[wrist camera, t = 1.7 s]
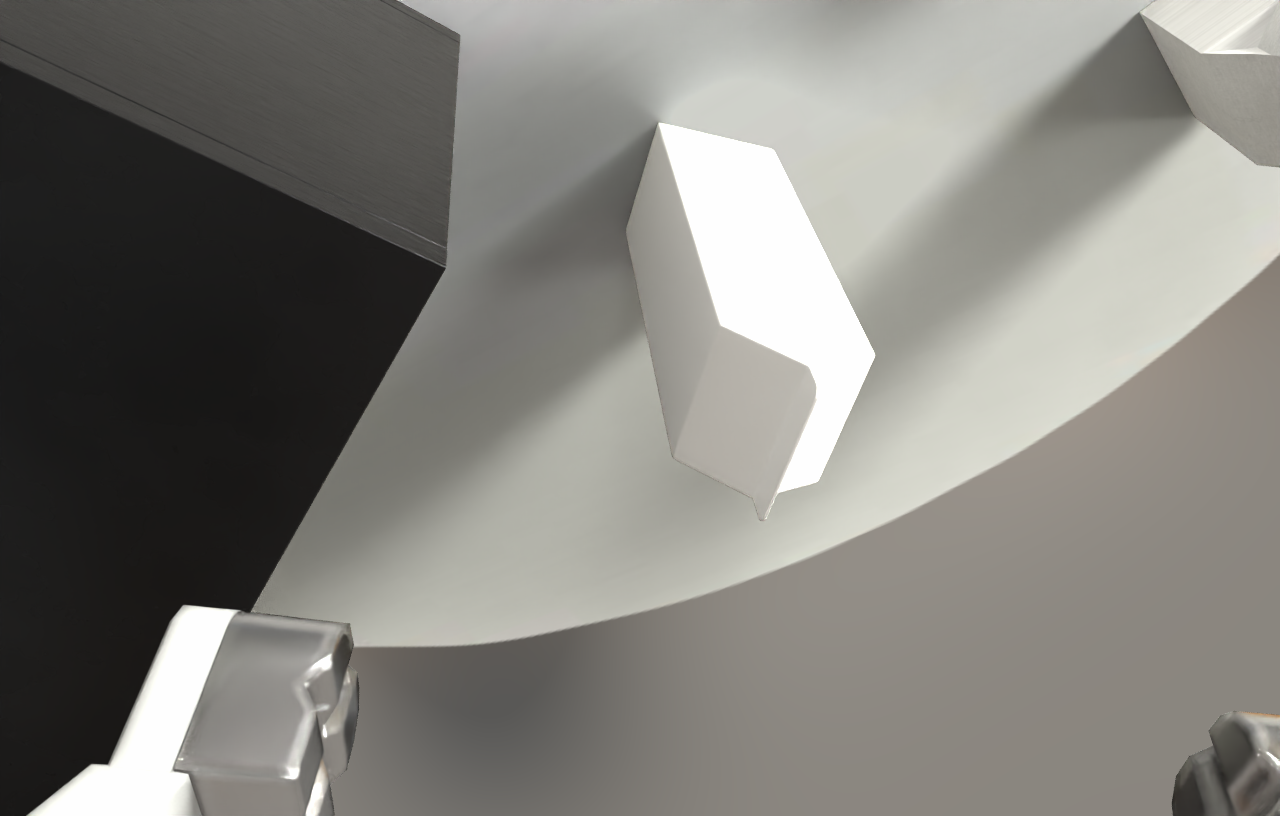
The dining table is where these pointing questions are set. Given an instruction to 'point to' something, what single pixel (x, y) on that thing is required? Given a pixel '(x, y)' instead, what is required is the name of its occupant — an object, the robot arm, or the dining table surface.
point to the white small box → (1226, 67)
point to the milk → (741, 315)
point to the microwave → (189, 316)
